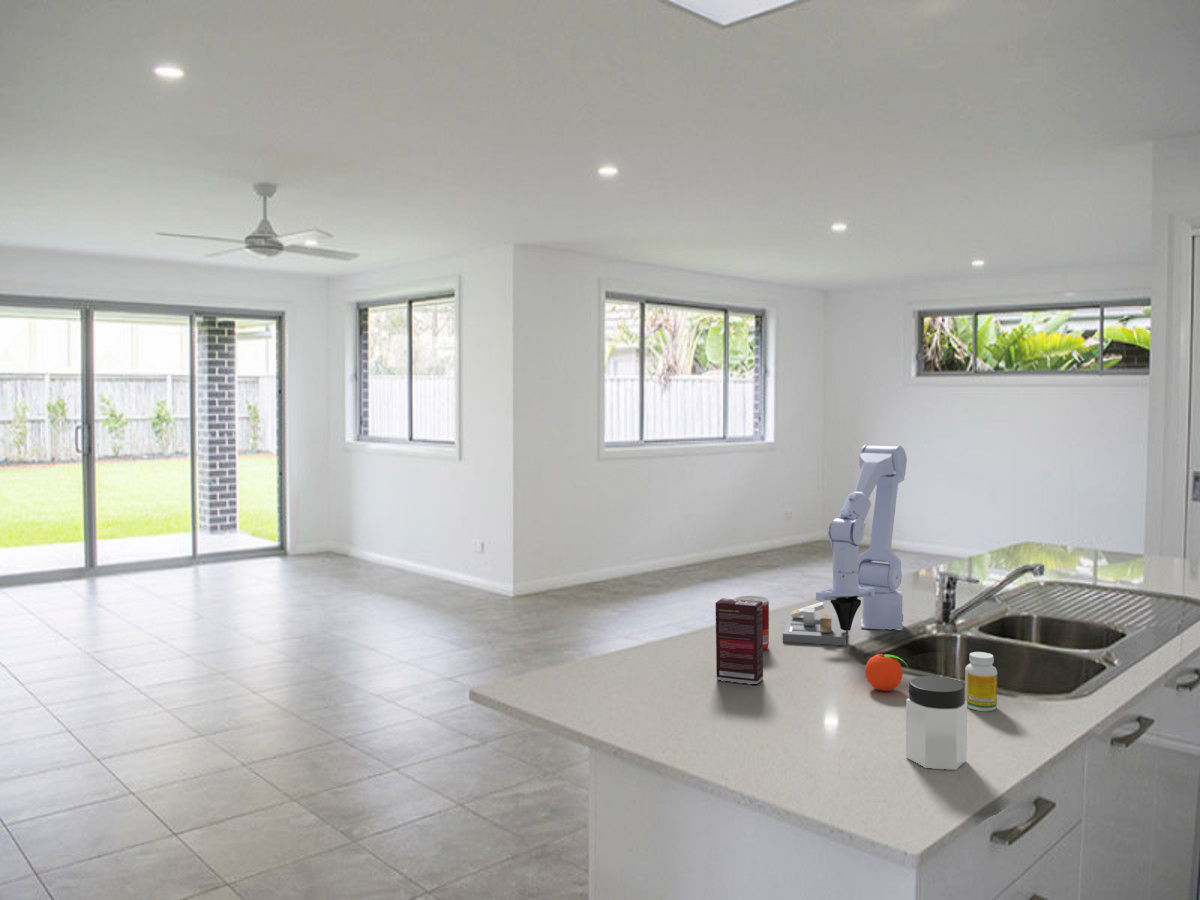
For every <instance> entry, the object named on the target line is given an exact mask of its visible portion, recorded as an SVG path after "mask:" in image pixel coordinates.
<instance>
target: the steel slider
mask: <svg viewBox="0 0 1200 900" xmlns="http://www.w3.org/2000/svg"><path fill="white" fill-rule="evenodd" d="M803 608H804V607H803ZM815 612H816V611H815V608H804V612H803V625H809V626H814V621H815V616H816V615H815Z"/></svg>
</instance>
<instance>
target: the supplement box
mask: <svg viewBox="0 0 1200 900" xmlns="http://www.w3.org/2000/svg"><path fill="white" fill-rule="evenodd" d="M714 605H715V645H716V646H715V647H716V648H715V652H716V653H715V655H716V658H715V659H716V681H717V680H721V681H720V682H725V681H731V682H730V683H733V682H740V683H739V684H742V683H747V684H746V685H751V684H758V683H759V682H760V681H761V680H762V681H763V679H764V651H763V618H762V601H750V600H738V599H735V598H725V597H722V598H720V599H718V600H717V601H716V602H715V604H714ZM762 681H761V682H762ZM761 682H760V683H761ZM760 683H759V684H760ZM759 684H758V685H759Z"/></svg>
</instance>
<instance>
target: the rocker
mask: <svg viewBox="0 0 1200 900" xmlns="http://www.w3.org/2000/svg"><path fill="white" fill-rule="evenodd" d="M804 608H815V612H818V611H820V610H821V611H822V610H824V609H825V601H823V602H820V601H818V602H817V603H814V604H810V605H807V606H804V607H800V608H798V609H795V610H792V611H790V612H791V613H790V615H791V616H792V618H796V617H799V616H802V615H803V612H804Z"/></svg>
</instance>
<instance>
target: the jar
mask: <svg viewBox="0 0 1200 900" xmlns="http://www.w3.org/2000/svg"><path fill="white" fill-rule="evenodd" d="M905 705H906V706H905V708H906V709H905V758H906V757H907V758H906V759H908V760H910V761H912V762H913V761H914V763H915V762H916V763H915V764H917V763H918V764H917V765H918V766H920V765H921V767H922V766H923V768H924V769H927V768H932V769H931V770H944V769H946V770H947V771H957V770H958V769H959V768H961V766H962V765H963V764H965V762H967V758H968V757H967V751H968V748H967V747H968V743H967V741H968V707H967V702H966V701H965V684H963V683H962V682H960V681H958V680H956V679H952V678H949V677H944V676H936V675H922V676H916V677H912V678H911V679H910V680H909V681H908V698H906V700H905Z"/></svg>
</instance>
